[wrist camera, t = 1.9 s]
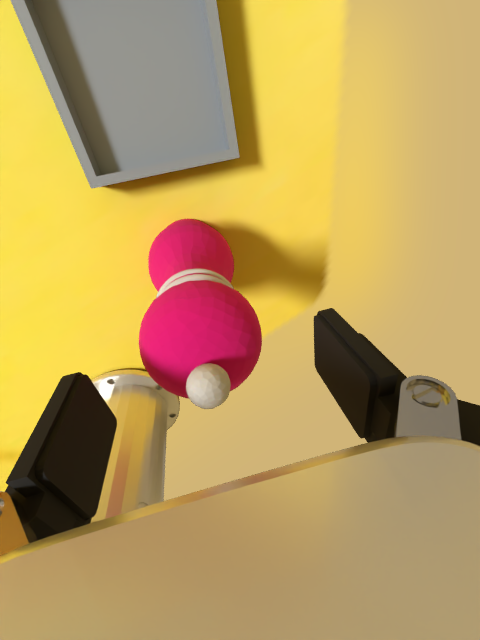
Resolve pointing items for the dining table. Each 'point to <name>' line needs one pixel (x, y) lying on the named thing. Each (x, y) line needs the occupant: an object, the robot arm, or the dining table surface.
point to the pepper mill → (197, 317)
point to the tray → (135, 82)
